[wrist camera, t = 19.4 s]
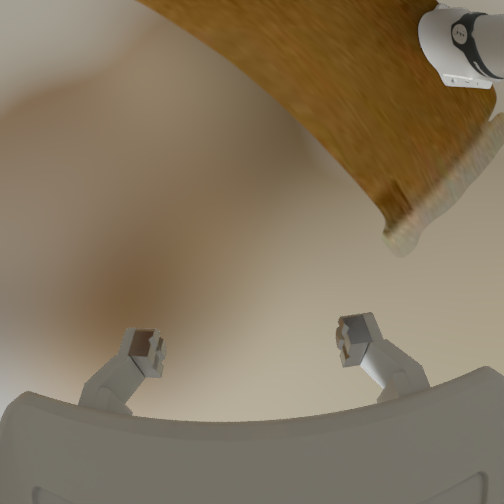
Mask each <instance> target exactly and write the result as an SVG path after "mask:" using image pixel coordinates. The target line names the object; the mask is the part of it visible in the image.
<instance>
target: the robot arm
mask: <svg viewBox="0 0 504 504" xmlns="http://www.w3.org/2000/svg"><path fill="white" fill-rule="evenodd" d="M418 35H419V41H420V44H421V47H422V50H423V52H424V54H425V56H426V57H427V59H428V60H429V62H430V63H431V64H432V65H433V67H434V68H435V69H436V70H437V71H438V73H439V75H440V77H441V79H442V81H443V83H444V84H445V85H446V86H457V87H472V88H483V89H490V88H491V86H492V83H493V82H497V83H499V82H500V81H501V79H504V14H500V15H488V14H486V13H479V12H472V13H471V12H470V11H468V10H467V9H466V8H450V7H448V6H447V5H445V4H438V5H437V6H436V7H435V9H434V10H433V11H430V12H427V13H426V14H424V15H423V16H422V18H421V20H420V22H419V26H418ZM338 323H339V327H338V328H337V329H336V343H337V347H338V348H339V349H340V350H341V353H340V358H341V362H342V366H343V367H350V366H356V365H360V366H361V367H362V368H363V369H364V370H365V371H366V372H367V373H368V374H369V375H370V376H371V377H372V378H373V379H374V380H375V381H376V382H377V383H378V384H379V385H380V386H381V387H382V388H383V389H384V390H383V391H382V393H381V394H380V396H379V397H378V399H377V404H373V405H368V406H364V407H359V408H355V409H350V410H345V411H339V412H334V413H328V414H321V415H314V416H308V417H299V418H291V419H279V420H266V421H247V422H197V421H178V420H165V419H155V418H146V417H138V416H132V411H131V410H130V409H129V408H128V407H127V406H126V405H125V403H126V402H127V401H128V399H129V398H130V397H131V396H132V394H133V393H134V392H135V391H136V389H137V388H138V387H139V386H140V384H141V383H142V382H143V380H144V379H145V377H152V378H161V377H162V371H163V364H162V361H163V360H164V359H165V356H166V345H165V342H164V340H163V339H162V338H160V332H159V330H158V329H145V328H128V329H127V330H126V331H125V334H124V337H123V340H122V343H121V346H120V349H119V352H118V355H115V356H114V357H113V358H112V359H110V361H108V362H107V363H106V364H105V365H104V366H103V367H102V368H101V369H100V370H99V371H98V372H97V373H95V374H94V375H93V376H92V377H91V378H90V379H89V380H88V381H87V382H86V383H85V384H84V387H83V390H82V394H81V397H80V400H79V404H78V405H75V404H71V403H67V402H63V401H60V400H56V399H53V398H49V397H46V396H43V395H39V394H37V393H33V392H30V391H26V392H24V393H22V394H21V395H20V396H18V397H17V398H16V399H15V400H14V401H12V402H11V403H10V404H9V405H8V406H7V408H6V410H5V411H4V413H3V416H2V418H1V421H0V504H504V376H503V375H501V374H500V373H498V372H497V371H495V370H494V369H492V368H490V367H488V366H483V367H481V368H478V369H476V370H474V371H472V372H469V373H467V374H465V375H462V376H460V377H457V378H455V379H452V380H450V381H448V382H445V383H442V384H439V385H437V386H434V387H431V388H430V385H429V382H428V380H427V377H426V375H425V373H424V370H423V367H422V365H420V364H419V363H418V362H416V361H415V360H414V359H412V358H411V357H410V356H408V355H407V354H406V353H404V352H403V351H402V350H400V349H399V348H398V347H396V346H395V345H394V344H392V343H391V342H390V341H388V340H387V339H385V340H384V339H383V337H382V335H381V332H380V329H379V327H378V325H377V322H376V320H375V318H374V315H373V313H371V312H369V313H363V314H355V315H348V316H341V317H340V318H339V321H338Z"/></svg>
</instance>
